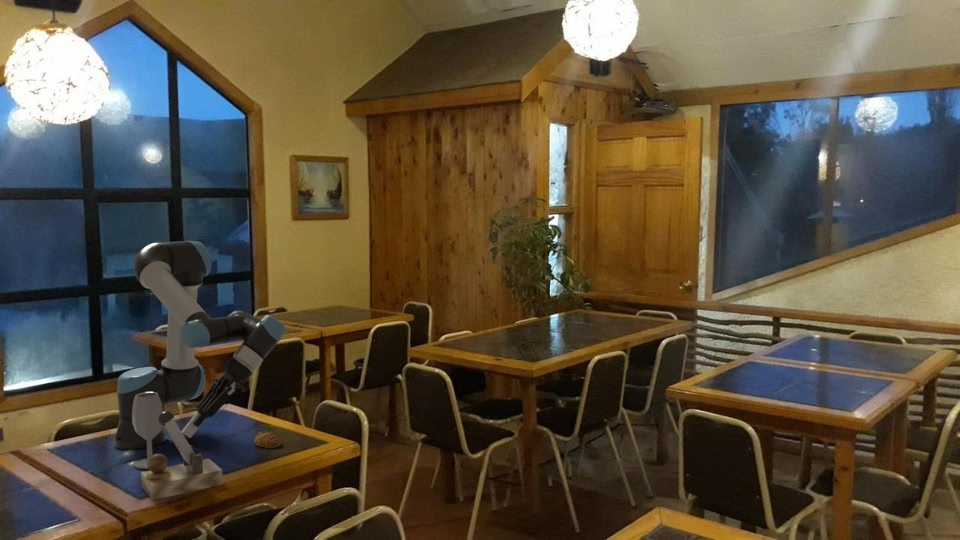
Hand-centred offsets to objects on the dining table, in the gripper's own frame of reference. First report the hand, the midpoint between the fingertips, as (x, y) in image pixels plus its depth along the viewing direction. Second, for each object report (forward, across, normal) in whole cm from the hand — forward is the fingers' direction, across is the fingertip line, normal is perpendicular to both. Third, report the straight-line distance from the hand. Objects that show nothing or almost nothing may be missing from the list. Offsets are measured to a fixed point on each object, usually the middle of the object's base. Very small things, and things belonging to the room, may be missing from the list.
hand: (185, 434), depth 207 cm
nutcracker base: (+11, 0, -9) cm, 14 cm away
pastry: (-11, +20, -32) cm, 39 cm away
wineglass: (+13, +24, -7) cm, 28 cm away
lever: (+5, 0, -7) cm, 8 cm away
